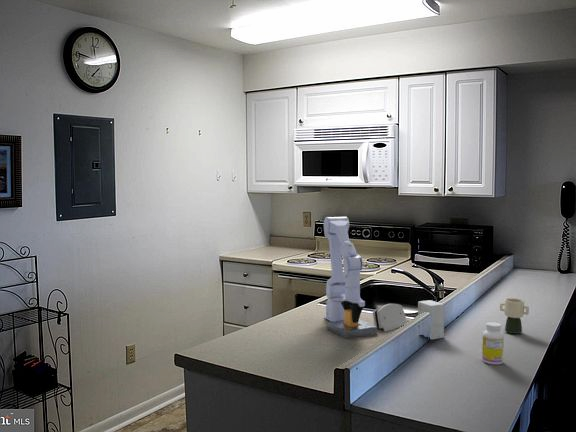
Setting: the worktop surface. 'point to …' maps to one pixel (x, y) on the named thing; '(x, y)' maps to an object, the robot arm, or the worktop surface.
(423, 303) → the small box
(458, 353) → the worktop surface
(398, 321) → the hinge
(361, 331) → the grey square-hole board
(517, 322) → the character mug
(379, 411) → the worktop surface
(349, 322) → the block
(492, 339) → the supplement bottle
